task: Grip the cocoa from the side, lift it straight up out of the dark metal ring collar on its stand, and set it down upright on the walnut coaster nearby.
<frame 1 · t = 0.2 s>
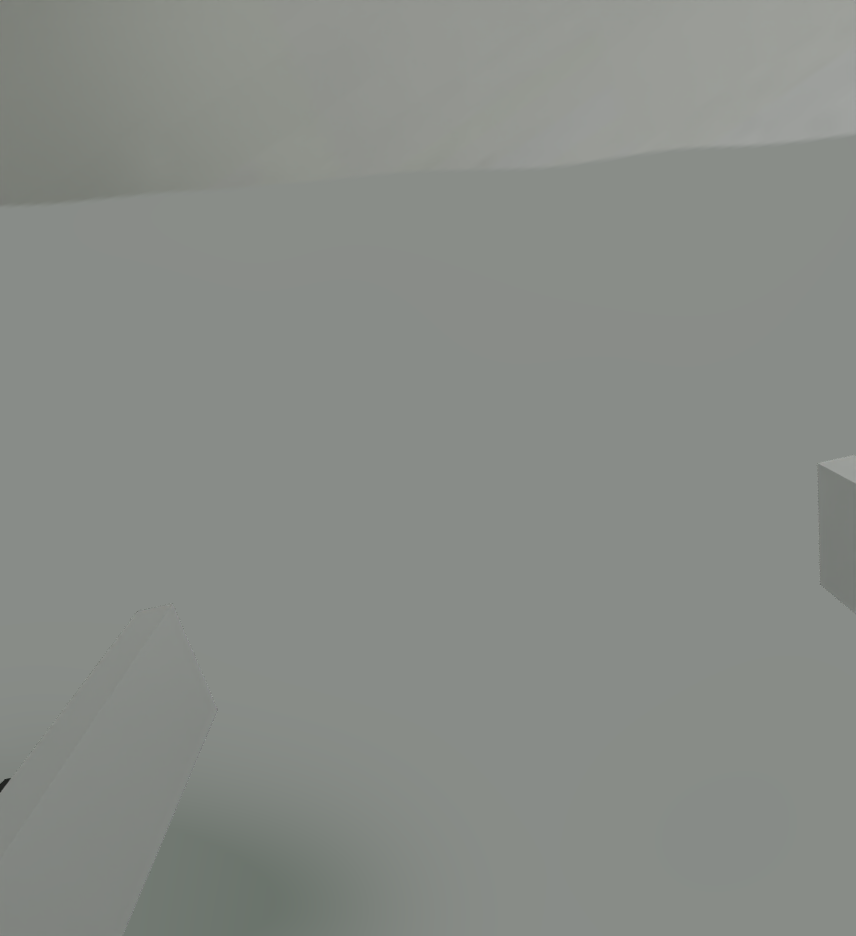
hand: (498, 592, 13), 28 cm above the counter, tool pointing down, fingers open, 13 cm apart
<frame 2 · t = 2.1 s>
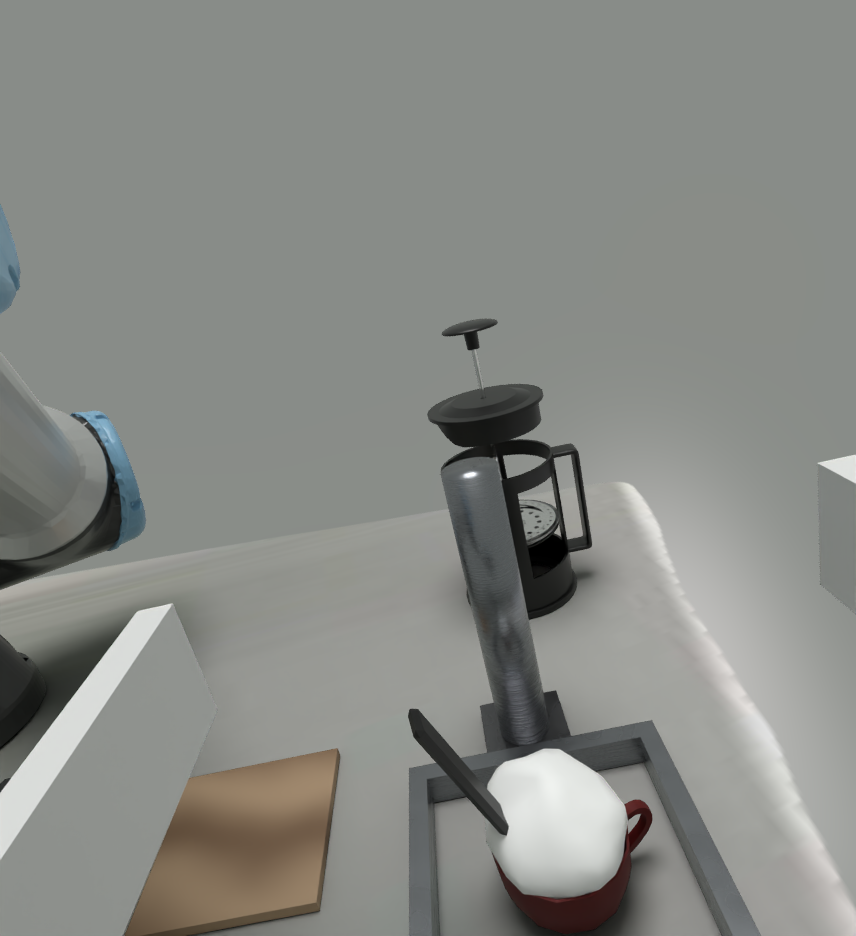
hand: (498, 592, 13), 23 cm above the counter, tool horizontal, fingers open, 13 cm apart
cocoa: (563, 889, 30), resting in ring stand
french press: (527, 588, 54), on the counter
walnut coaster: (246, 839, 36), on the counter
ring stand: (562, 885, 30), on the counter
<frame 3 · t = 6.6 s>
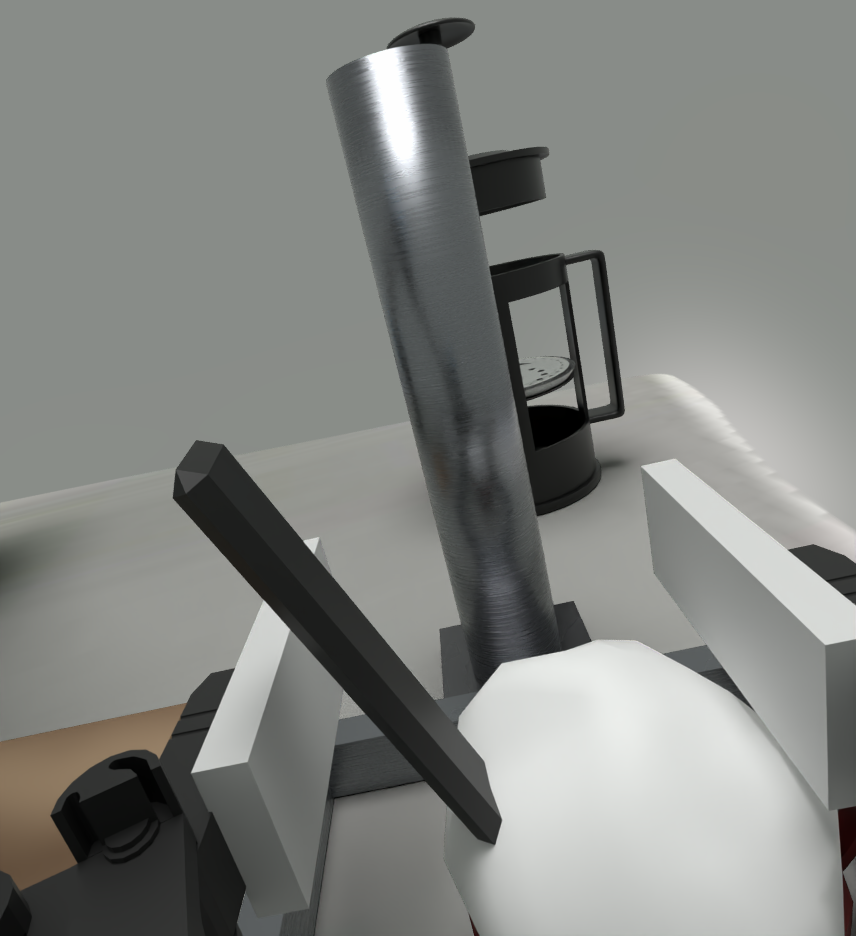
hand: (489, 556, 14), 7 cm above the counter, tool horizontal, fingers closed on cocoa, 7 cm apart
french press: (527, 485, 36), on the counter
when the fingers open (9 cm above the counter, at t = 13.8 s): cocoa drops 1 cm, resting on walnut coaster.
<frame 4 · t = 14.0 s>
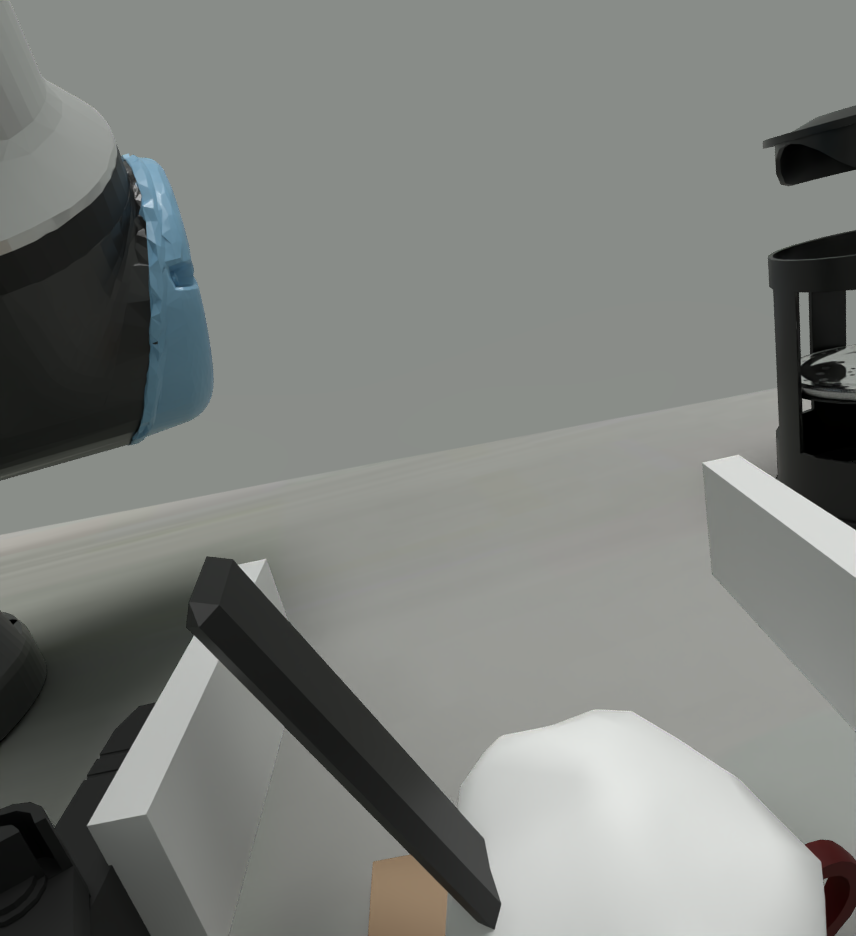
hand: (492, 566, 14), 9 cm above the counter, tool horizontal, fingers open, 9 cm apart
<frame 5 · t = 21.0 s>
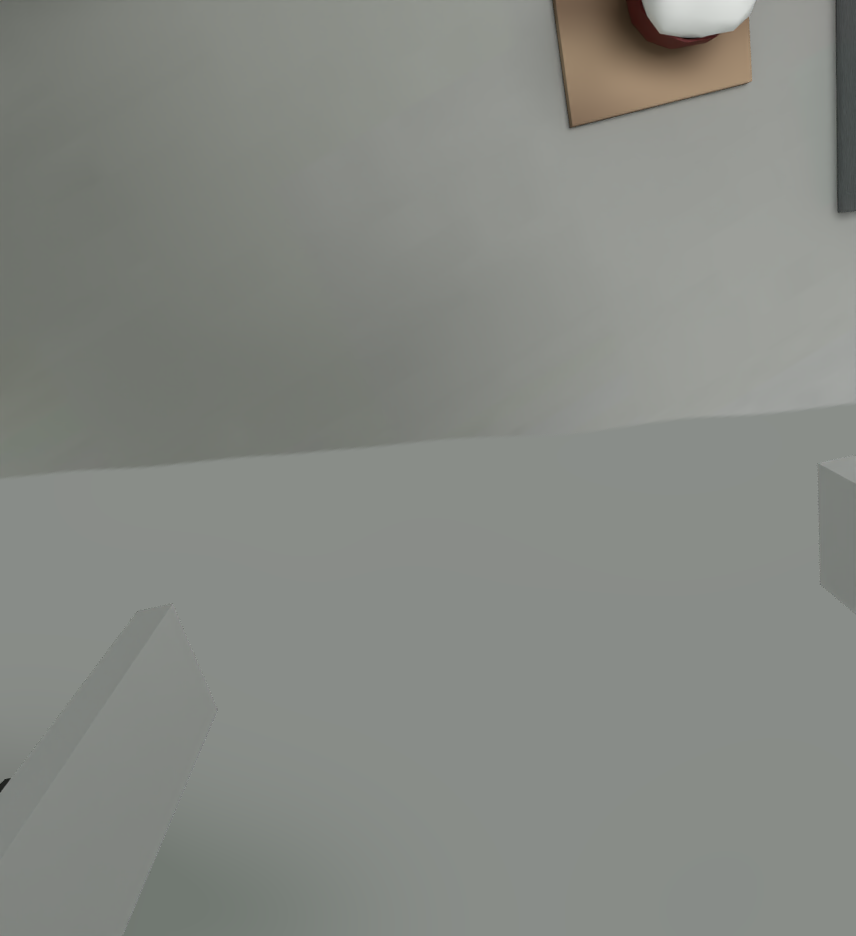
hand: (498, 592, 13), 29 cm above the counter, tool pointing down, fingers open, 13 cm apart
walnut coaster: (647, 2, 34), on the counter
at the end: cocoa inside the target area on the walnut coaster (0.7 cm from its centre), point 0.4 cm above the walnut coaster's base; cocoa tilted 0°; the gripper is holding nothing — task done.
